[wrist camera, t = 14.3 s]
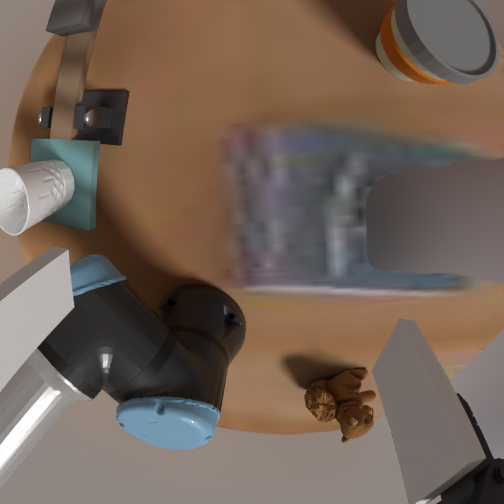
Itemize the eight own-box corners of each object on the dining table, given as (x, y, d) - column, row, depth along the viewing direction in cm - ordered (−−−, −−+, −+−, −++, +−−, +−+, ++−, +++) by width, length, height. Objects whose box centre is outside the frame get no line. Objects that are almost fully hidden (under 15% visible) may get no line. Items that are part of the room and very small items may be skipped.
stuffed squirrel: (357, 400, 55) (368, 449, 43) (294, 397, 55) (296, 450, 43) (375, 368, 51) (392, 419, 39) (307, 363, 52) (312, 419, 39)
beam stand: (121, 144, 39) (92, 149, 31) (61, 140, 39) (29, 145, 31) (129, 92, 36) (100, 86, 28) (67, 93, 36) (35, 91, 28)
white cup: (80, 212, 35) (33, 237, 26) (41, 210, 35) (-5, 233, 26) (77, 153, 32) (25, 165, 23) (37, 157, 32) (-13, 170, 23)
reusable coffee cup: (436, 27, 28) (491, 0, 14) (441, 100, 33) (504, 96, 19) (360, 8, 29) (396, -39, 15) (364, 84, 34) (409, 63, 20)
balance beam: (95, 227, 37) (73, 241, 32) (36, 214, 37) (14, 226, 32) (132, -7, 25) (114, -22, 20) (65, 6, 25) (43, -3, 19)
